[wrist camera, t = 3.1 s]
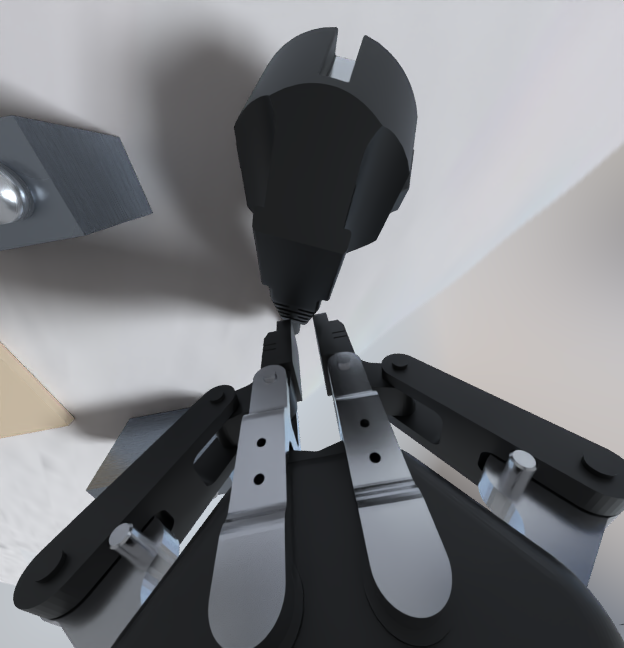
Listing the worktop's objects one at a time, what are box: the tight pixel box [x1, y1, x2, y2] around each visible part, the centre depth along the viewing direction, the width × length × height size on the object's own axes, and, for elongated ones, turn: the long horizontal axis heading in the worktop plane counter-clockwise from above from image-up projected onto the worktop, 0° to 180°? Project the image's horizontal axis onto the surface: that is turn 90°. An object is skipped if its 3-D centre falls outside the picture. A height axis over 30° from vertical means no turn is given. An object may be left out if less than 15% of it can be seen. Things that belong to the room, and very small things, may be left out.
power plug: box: [234, 27, 417, 335], centre depth 12 cm, size 6×8×12 cm
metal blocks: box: [0, 115, 234, 499], centre depth 13 cm, size 19×8×6 cm, turn 9°
